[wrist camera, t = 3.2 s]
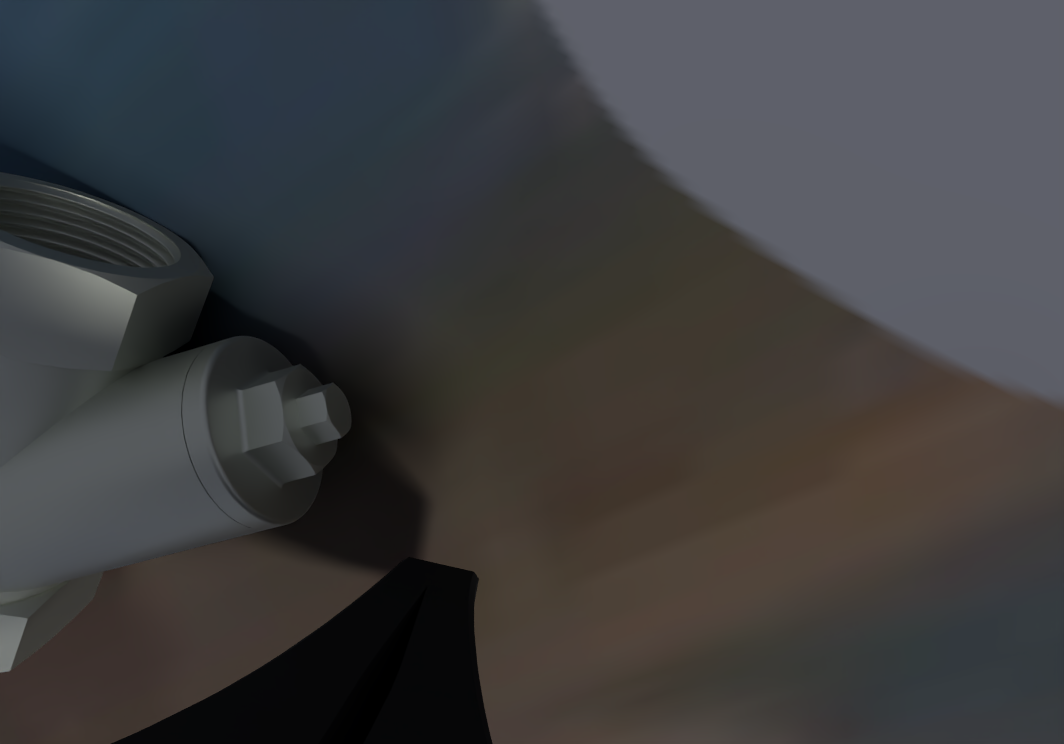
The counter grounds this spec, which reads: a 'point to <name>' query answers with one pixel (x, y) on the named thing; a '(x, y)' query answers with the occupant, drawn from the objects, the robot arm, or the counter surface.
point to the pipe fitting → (129, 410)
